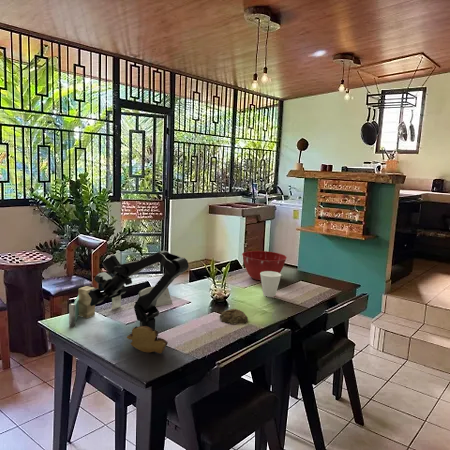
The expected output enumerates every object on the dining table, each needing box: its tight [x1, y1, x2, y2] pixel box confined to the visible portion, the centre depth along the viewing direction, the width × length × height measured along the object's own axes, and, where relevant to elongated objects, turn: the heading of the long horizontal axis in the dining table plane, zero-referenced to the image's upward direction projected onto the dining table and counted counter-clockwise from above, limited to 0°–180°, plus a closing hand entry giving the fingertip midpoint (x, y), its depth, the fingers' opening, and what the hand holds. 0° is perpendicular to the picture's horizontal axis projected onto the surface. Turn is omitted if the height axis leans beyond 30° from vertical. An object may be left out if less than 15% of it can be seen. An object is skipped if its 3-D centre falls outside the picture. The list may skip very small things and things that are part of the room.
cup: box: [260, 271, 282, 298], centre depth 229 cm, size 12×12×12 cm
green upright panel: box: [73, 294, 80, 323], centre depth 187 cm, size 22×2×8 cm, turn 10°
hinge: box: [138, 285, 173, 307], centre depth 207 cm, size 17×5×10 cm, turn 122°
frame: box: [68, 295, 122, 329], centre depth 187 cm, size 31×2×10 cm, turn 153°
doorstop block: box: [78, 285, 96, 319], centre depth 187 cm, size 5×5×13 cm
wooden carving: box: [126, 325, 169, 354], centre depth 155 cm, size 16×5×10 cm, turn 75°
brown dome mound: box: [219, 308, 248, 325], centre depth 192 cm, size 13×12×5 cm
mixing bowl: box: [241, 250, 288, 282], centre depth 262 cm, size 28×28×15 cm
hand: (98, 302), depth 184 cm, fingers open, 9 cm apart
